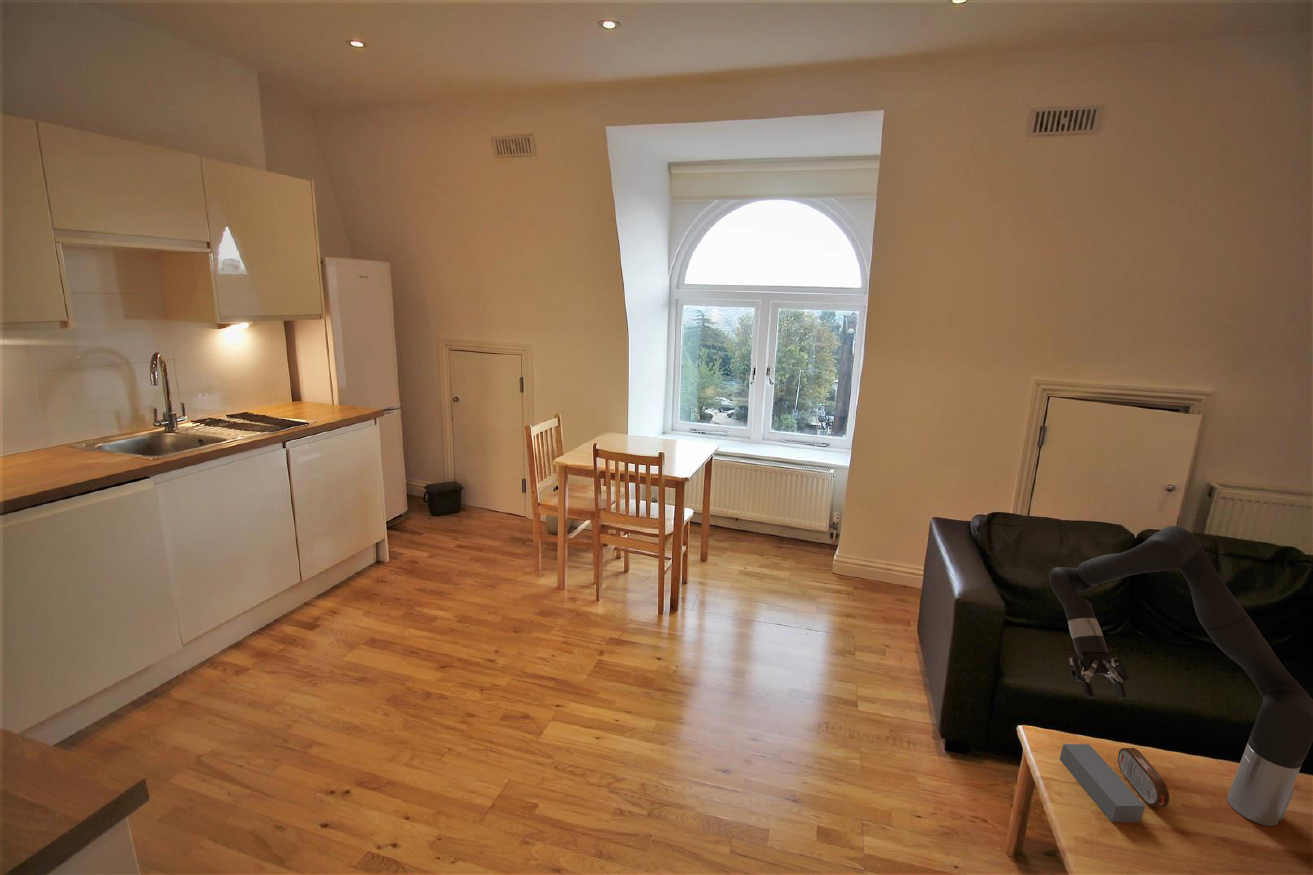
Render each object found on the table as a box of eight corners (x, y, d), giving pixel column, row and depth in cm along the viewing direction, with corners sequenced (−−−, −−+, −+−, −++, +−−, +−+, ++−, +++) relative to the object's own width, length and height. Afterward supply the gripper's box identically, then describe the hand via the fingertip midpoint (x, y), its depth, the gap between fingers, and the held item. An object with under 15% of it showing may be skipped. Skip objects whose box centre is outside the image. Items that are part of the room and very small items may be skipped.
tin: (1165, 815, 148) (1175, 788, 145) (1152, 814, 148) (1161, 787, 145) (1124, 765, 162) (1132, 740, 159) (1112, 765, 162) (1119, 739, 160)
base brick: (1085, 759, 164) (1089, 744, 162) (1140, 822, 146) (1145, 805, 144) (1059, 758, 164) (1063, 743, 162) (1111, 822, 145) (1116, 805, 144)
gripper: (1071, 633, 170) (1090, 696, 162) (1120, 634, 170) (1142, 696, 162) (1054, 638, 176) (1072, 699, 169) (1102, 639, 177) (1122, 699, 169)
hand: (1106, 697), depth 166 cm, fingers open, 8 cm apart
